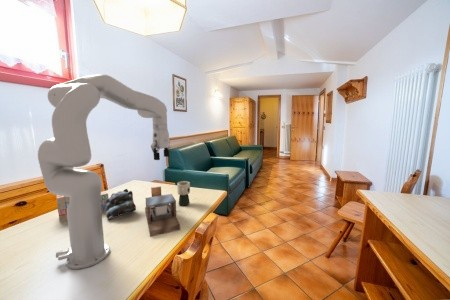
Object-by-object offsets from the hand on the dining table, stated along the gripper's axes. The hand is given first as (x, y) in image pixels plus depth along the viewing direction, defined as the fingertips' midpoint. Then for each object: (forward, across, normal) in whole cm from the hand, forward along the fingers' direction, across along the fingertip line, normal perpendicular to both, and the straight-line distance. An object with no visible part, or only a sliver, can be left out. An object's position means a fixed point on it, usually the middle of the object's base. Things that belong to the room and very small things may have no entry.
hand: (161, 158), depth 109 cm
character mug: (+28, +4, -10) cm, 30 cm away
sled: (+25, -12, -5) cm, 28 cm away
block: (+25, -17, -8) cm, 31 cm away
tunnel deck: (+28, -17, -8) cm, 33 cm away
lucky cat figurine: (+28, -16, +16) cm, 36 cm away
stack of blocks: (+28, -19, +35) cm, 49 cm away
